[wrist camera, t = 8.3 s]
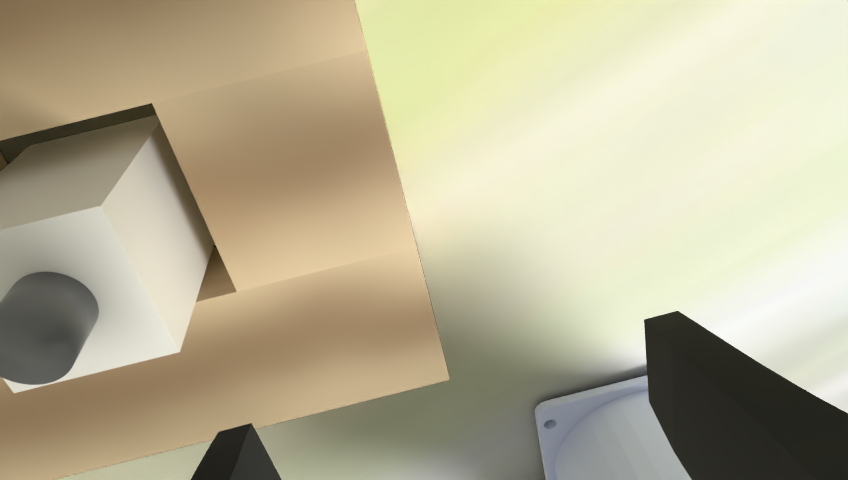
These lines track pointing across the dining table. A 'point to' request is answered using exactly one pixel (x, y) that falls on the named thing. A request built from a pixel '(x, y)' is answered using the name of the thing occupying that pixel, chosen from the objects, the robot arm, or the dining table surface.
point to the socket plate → (231, 220)
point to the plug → (96, 254)
